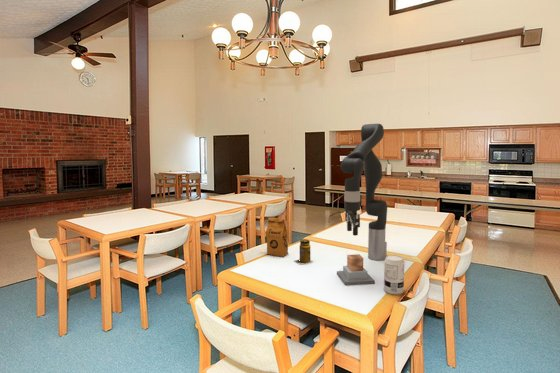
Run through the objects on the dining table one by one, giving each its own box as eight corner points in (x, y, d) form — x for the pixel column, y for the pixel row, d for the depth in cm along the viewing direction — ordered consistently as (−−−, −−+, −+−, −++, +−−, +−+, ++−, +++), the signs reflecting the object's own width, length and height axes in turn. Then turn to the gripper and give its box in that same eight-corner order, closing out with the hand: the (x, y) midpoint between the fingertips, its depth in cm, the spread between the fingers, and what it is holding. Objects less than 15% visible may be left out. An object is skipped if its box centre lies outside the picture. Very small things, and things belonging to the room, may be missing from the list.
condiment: (313, 261, 186) (313, 240, 185) (301, 265, 182) (301, 243, 180) (305, 258, 192) (305, 238, 191) (293, 261, 188) (293, 240, 186)
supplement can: (380, 287, 151) (381, 255, 149) (398, 287, 151) (399, 254, 150) (388, 295, 143) (388, 261, 141) (406, 294, 143) (407, 260, 141)
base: (363, 272, 169) (364, 263, 169) (374, 283, 155) (374, 273, 155) (336, 274, 168) (336, 264, 167) (345, 285, 154) (345, 274, 153)
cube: (359, 266, 164) (359, 254, 163) (363, 270, 158) (363, 258, 157) (347, 266, 164) (347, 254, 163) (350, 271, 158) (350, 258, 157)
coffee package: (282, 258, 193) (281, 220, 191) (264, 255, 199) (263, 218, 197) (290, 253, 202) (290, 217, 199) (273, 250, 208) (272, 215, 205)
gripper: (365, 202, 154) (365, 236, 157) (354, 197, 169) (354, 229, 171) (349, 202, 154) (349, 237, 156) (340, 198, 168) (340, 229, 170)
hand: (352, 233), depth 163 cm, fingers open, 8 cm apart
